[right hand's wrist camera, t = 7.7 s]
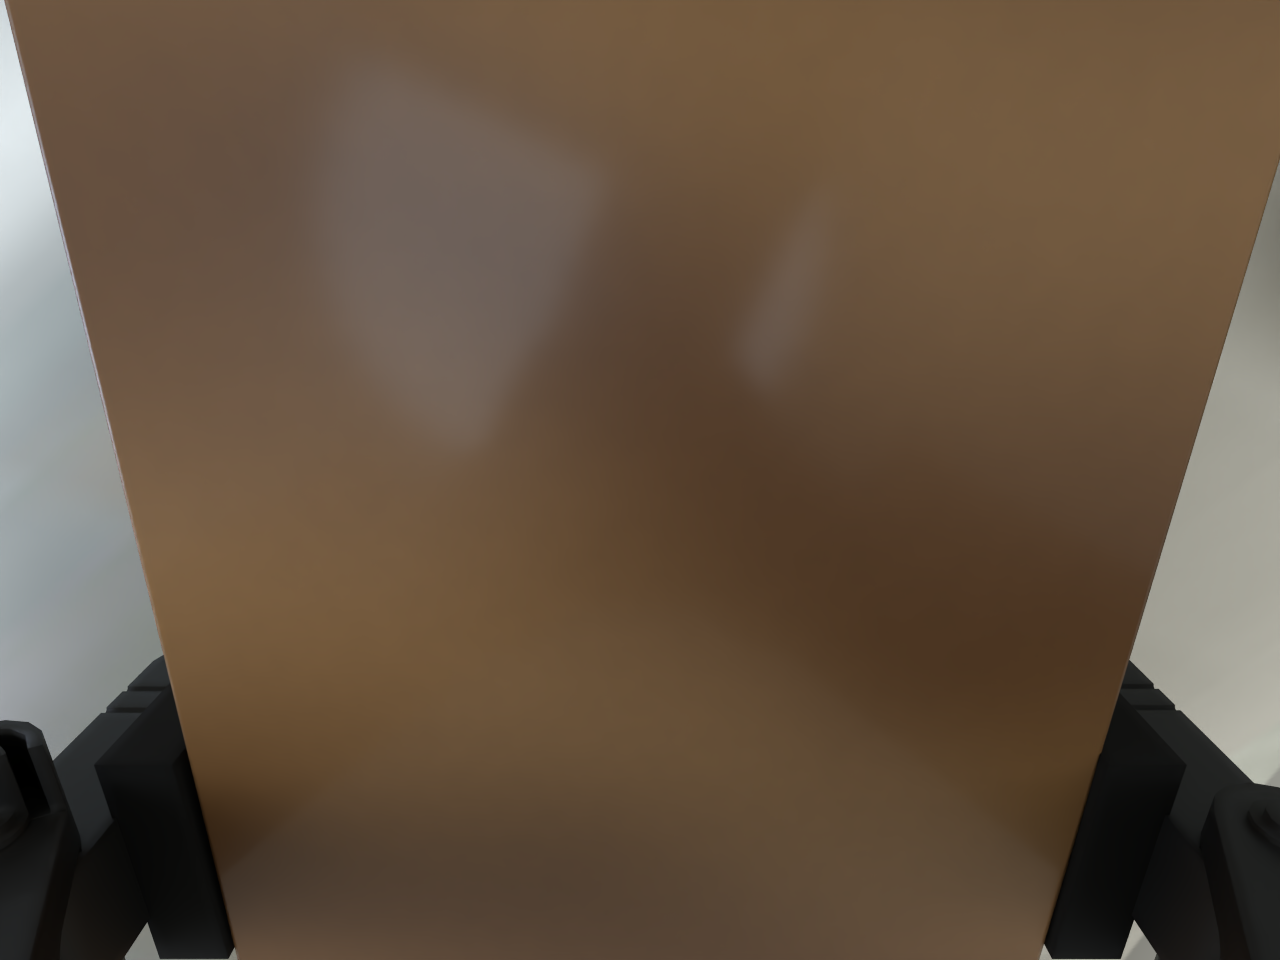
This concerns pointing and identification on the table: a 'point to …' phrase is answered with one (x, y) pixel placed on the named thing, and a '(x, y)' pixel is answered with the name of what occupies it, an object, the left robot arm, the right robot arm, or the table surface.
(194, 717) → the slab
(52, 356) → the table surface
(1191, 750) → the right robot arm
